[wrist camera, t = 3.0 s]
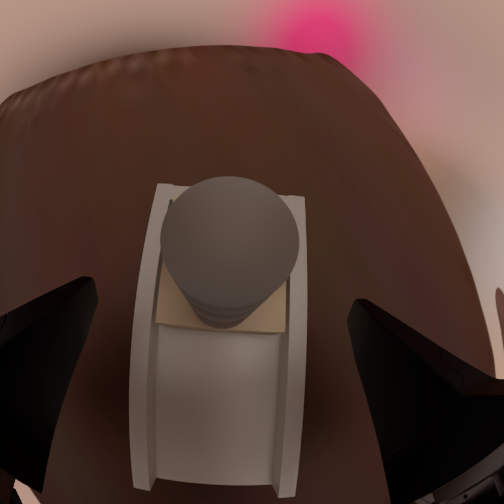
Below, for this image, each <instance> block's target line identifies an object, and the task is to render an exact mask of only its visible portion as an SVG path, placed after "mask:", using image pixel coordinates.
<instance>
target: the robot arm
mask: <svg viewBox="0 0 504 504" xmlns="http://www.w3.org/2000/svg"><path fill="white" fill-rule="evenodd" d="M97 304H98V296H97V291H96V286H95V281H94V279H93V278H92V277H86V276H82V277H80V278H77V279H75V280H73V281H71V282H69V283H67V284H65V285H63V286H60V287H58V288H56V289H54V290H52V291H50V292H48V293H46V294H44V295H42V296H40V297H38V298H36V299H34V300H32V301H30V302H28V303H26V304H24V305H22V306H20V307H18V308H16V309H14V310H12V311H10V312H8V314H4V315H3V316H1V317H0V504H22V502H21V500H20V498H19V496H18V494H17V491H16V489H14V488H13V487H14V483H15V479H17V480H18V481H20V482H22V483H23V484H25V485H27V486H28V487H30V488H32V489H34V490H35V491H37V492H39V493H42V490H43V484H44V478H45V472H46V467H47V462H48V457H49V453H50V448H51V444H52V442H51V441H52V440H53V436H54V432H55V428H56V424H57V421H58V417H59V414H60V411H61V407H62V404H63V401H64V398H65V395H66V392H67V389H68V386H69V383H70V380H71V377H72V375H73V372H74V369H75V366H76V364H77V361H78V359H79V356H80V354H81V351H82V349H83V346H84V344H85V341H86V338H87V335H88V332H89V329H90V326H91V322H92V319H93V316H94V313H95V310H96V307H97ZM347 325H348V330H349V335H350V339H351V344H352V349H353V354H354V358H355V362H356V365H357V368H358V372H359V375H360V378H361V382H362V385H363V388H364V392H365V395H366V399H367V402H368V406H369V409H370V413H371V417H372V420H373V424H374V428H375V432H376V436H377V440H378V444H379V448H380V452H381V456H382V460H383V466H384V471H385V475H386V480H387V485H388V490H389V495H390V500H391V504H410V503H412V502H414V501H417V500H419V499H421V498H423V497H425V496H427V495H429V494H431V493H432V494H433V497H434V500H435V501H434V502H432V503H430V504H504V379H496V378H493V377H491V376H489V375H487V374H485V373H484V372H482V371H480V370H478V369H477V368H475V367H473V366H471V365H470V364H468V363H466V362H465V361H463V360H461V359H459V358H458V357H456V356H455V355H453V354H451V353H450V352H448V351H447V350H445V349H444V348H442V347H441V346H438V345H437V344H436V343H434V342H433V341H431V340H430V339H428V338H427V337H425V336H424V335H422V334H420V333H419V332H417V331H416V330H414V329H413V328H411V327H410V326H408V325H406V324H405V323H403V322H402V321H400V320H399V319H397V318H395V317H394V316H392V315H391V314H389V313H388V312H386V311H384V310H383V309H381V308H380V307H378V306H376V305H375V304H373V303H372V302H370V301H368V300H367V299H355V300H354V302H353V304H352V307H351V310H350V312H349V315H348V318H347Z"/></svg>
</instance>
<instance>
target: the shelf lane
mask: <svg viewBox="0 0 504 504" xmlns="http://www.w3.org/2000/svg"><path fill="white" fill-rule="evenodd" d="M188 188H190V187H186V186H173V184H158V185H157V189H156V193H155V197H154V201H153V206H152V210H151V214H150V219H149V224H148V229H147V234H146V239H145V244H144V250H143V255H142V261H141V267H140V274H139V280H138V287H137V295H136V303H135V311H134V321H133V331H132V343H131V358H130V379H129V433H130V453H131V466H132V477H133V486H134V488H138V489H143V490H147V491H150V490H151V488H152V486H153V484H154V481H155V479H156V478H161V479H167V480H174V481H181V482H190V483H200V484H215V485H269V484H272V486H273V488H274V490H275V492H276V494H277V496H278V498H285V497H294V496H295V492H296V484H297V475H298V467H299V457H300V447H301V436H302V423H303V409H304V393H305V373H306V344H307V248H306V219H305V198H304V197H300V196H292V195H289V196H282V195H278V196H279V197H280V198H281V199H282V200H283V201H284V202H285V203H286V205H287V206H288V208H289V209H290V211H291V213H292V215H293V216H294V219H295V221H296V224H297V228H298V232H299V252H298V257H297V261H296V263H295V266H294V268H293V270H292V272H291V274H290V275H289V277H288V278H287V280H286V320H285V332H284V333H279V334H274V335H265V334H244V333H228V332H215V331H203V330H192V329H182V328H173V327H166V326H163V325H161V324H158V323H156V322H155V321H156V311H157V301H158V293H159V285H160V277H161V270H162V263H163V257H162V253H161V247H160V234H161V227H162V223H163V220H164V218H165V215H166V213H167V211H168V209H169V208H170V206H171V205H172V203H173V199H174V196H180V195H181V194H182V193H183V192H184V191H185V190H187V189H188Z"/></svg>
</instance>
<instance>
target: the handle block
mask: <svg viewBox="0 0 504 504" xmlns="http://www.w3.org/2000/svg"><path fill="white" fill-rule="evenodd" d="M160 247H161V253H162V257H163V263H162V270H161V277H160V285H159V293H158V301H157V311H156V321H155V322H156V323H158V324H161V325H163V326H166V327H173V328H182V329H192V330H203V331H215V332H228V333H244V334H265V335H274V334H279V333H284V332H285V320H286V280H287V278H288V277H289V275H290V274H291V272H292V270H293V268H294V266H295V263H296V261H297V257H298V252H299V232H298V228H297V224H296V221H295V219H294V216H293V215H292V213H291V211H290V209H289V208H288V206H287V205H286V203H285V202H284V201H283V200H282V199H281V198H280V197H279V196H278V195H277V194H276V193H275V192H273V191H272V190H270V189H269V188H268V187H266V186H264V185H262V184H260V183H258V182H255V181H253V180H249V179H246V178H241V177H230V176H225V177H216V178H211V179H207V180H204V181H202V182H199V183H197V184H195V185H193V186H191V187H190V188H188V189H187V190H185V191H184V192H183V193H182V194H181V195H180V196H174V199H173V203H172V205H171V206H170V208H169V209H168V211H167V213H166V215H165V218H164V220H163V223H162V227H161V234H160Z"/></svg>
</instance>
